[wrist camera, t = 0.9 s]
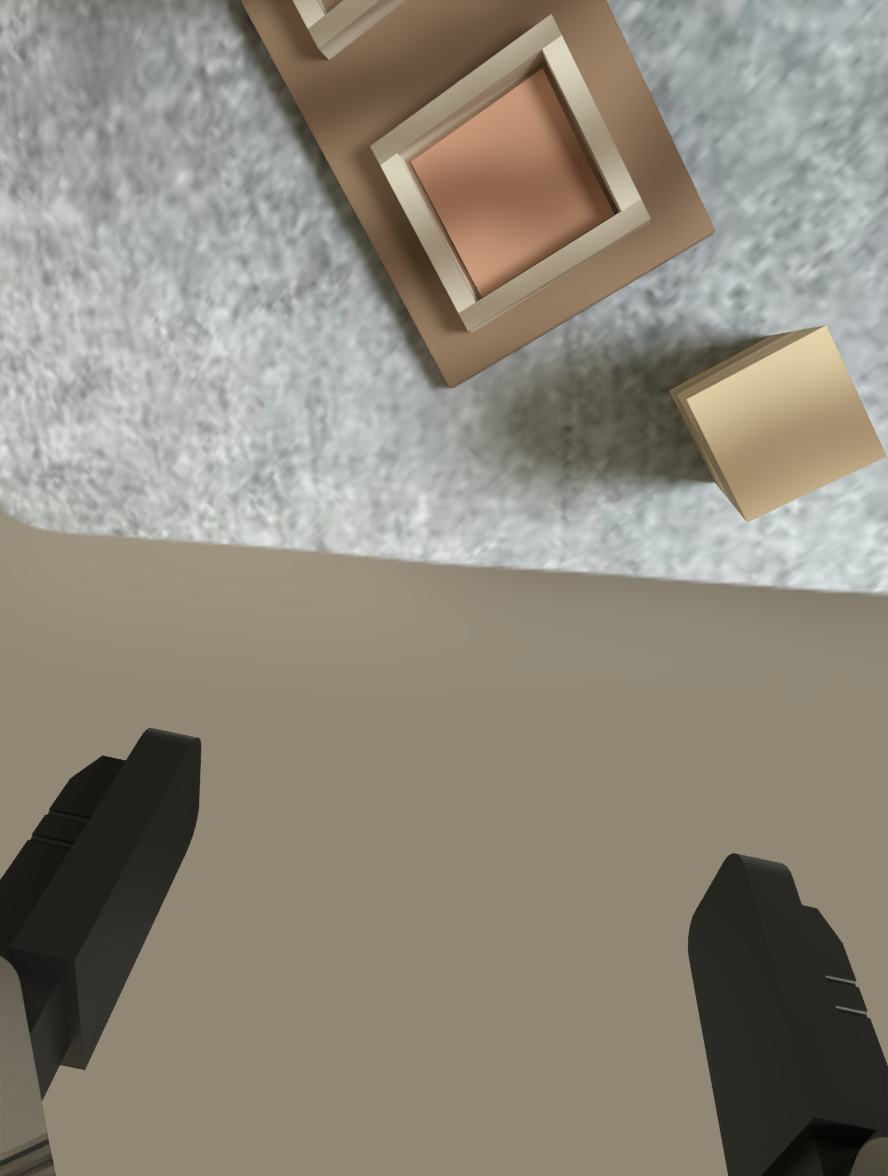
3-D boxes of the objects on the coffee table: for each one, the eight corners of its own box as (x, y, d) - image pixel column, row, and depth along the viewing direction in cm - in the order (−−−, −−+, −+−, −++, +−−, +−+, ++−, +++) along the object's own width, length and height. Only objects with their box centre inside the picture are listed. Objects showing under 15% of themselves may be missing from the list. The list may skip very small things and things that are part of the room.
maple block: (669, 390, 33) (686, 399, 25) (771, 335, 32) (826, 325, 24) (714, 482, 34) (747, 522, 26) (817, 432, 33) (886, 456, 24)
